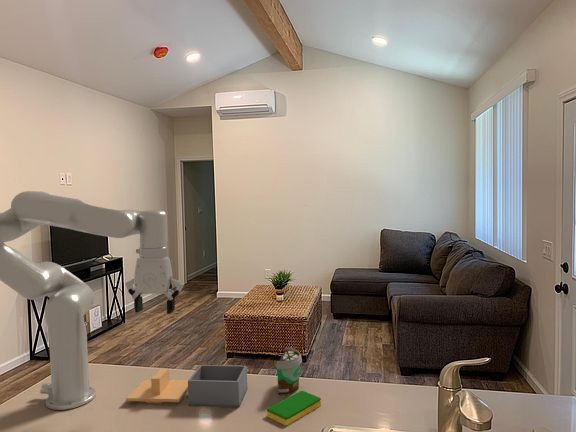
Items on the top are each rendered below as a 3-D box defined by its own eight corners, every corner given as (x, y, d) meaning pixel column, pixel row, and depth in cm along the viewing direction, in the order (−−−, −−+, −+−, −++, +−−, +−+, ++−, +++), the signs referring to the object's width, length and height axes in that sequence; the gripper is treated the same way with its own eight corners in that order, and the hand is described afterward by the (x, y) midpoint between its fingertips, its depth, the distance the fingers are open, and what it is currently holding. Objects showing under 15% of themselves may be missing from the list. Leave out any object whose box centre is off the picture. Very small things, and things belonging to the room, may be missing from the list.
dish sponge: (321, 406, 115) (321, 397, 115) (286, 427, 105) (286, 417, 105) (301, 398, 120) (301, 389, 120) (266, 417, 110) (266, 408, 110)
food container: (298, 398, 119) (297, 363, 119) (277, 397, 120) (276, 362, 120) (305, 379, 131) (305, 347, 131) (286, 378, 132) (285, 346, 132)
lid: (126, 405, 118) (125, 382, 117) (144, 385, 130) (143, 364, 129) (179, 406, 116) (178, 383, 116) (193, 386, 128) (192, 365, 128)
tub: (188, 406, 116) (187, 380, 116) (201, 387, 127) (200, 364, 127) (239, 407, 115) (238, 382, 115) (247, 389, 126) (246, 365, 125)
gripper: (118, 254, 121) (119, 314, 122) (177, 255, 118) (177, 316, 119) (132, 251, 128) (133, 307, 129) (187, 252, 126) (188, 309, 126)
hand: (154, 312), depth 124 cm, fingers open, 9 cm apart
